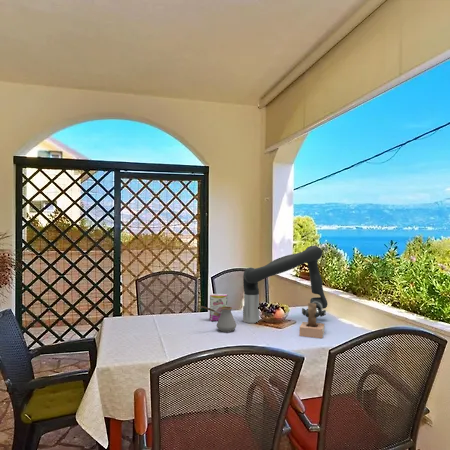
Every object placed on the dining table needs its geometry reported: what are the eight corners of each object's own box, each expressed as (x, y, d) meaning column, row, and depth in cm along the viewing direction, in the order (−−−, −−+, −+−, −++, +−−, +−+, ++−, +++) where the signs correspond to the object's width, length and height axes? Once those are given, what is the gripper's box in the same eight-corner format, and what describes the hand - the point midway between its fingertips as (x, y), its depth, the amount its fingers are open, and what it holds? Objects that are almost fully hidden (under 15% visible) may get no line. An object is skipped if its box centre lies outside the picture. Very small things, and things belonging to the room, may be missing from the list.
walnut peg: (307, 331, 206) (307, 304, 206) (308, 329, 210) (308, 302, 210) (315, 332, 205) (315, 304, 204) (316, 329, 209) (316, 303, 209)
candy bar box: (209, 321, 234) (209, 295, 234) (210, 319, 239) (210, 293, 239) (227, 321, 233) (227, 295, 233) (227, 319, 238) (227, 293, 238)
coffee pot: (232, 326, 223) (232, 301, 222) (239, 331, 212) (239, 305, 212) (197, 329, 216) (197, 303, 216) (202, 335, 205) (202, 308, 205)
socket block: (299, 335, 204) (299, 327, 204) (302, 330, 215) (302, 321, 215) (322, 338, 200) (322, 329, 200) (324, 332, 211) (324, 323, 211)
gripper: (303, 301, 223) (298, 307, 207) (327, 303, 218) (324, 309, 202) (303, 314, 223) (298, 321, 207) (327, 316, 218) (324, 323, 202)
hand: (311, 315), depth 205 cm, fingers closed on walnut peg, 4 cm apart
